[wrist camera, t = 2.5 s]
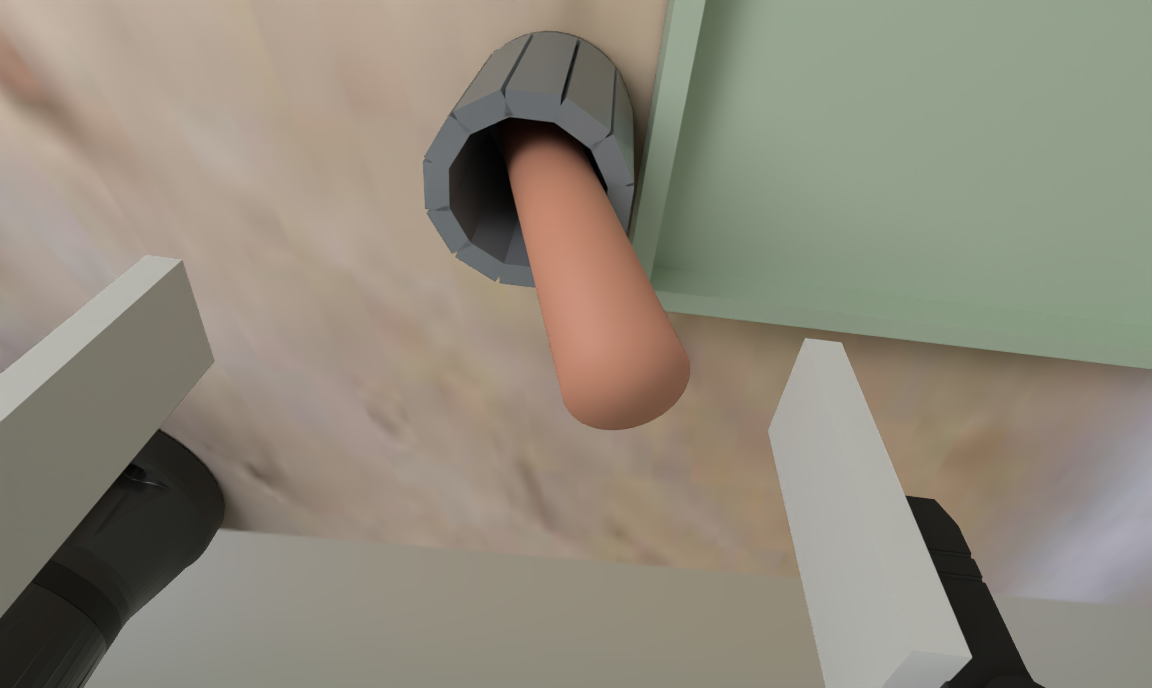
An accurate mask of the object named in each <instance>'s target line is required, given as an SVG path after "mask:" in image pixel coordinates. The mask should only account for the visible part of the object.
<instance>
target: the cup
mask: <svg viewBox="0 0 1152 688" xmlns="http://www.w3.org/2000/svg"><path fill="white" fill-rule="evenodd" d="M508 117H514V118H523V119H531V120H539V121H547V122H555V123H556V124H557V125H559V126H560V127H561V128H563V129H564V130H565V131H567V132H568V133H570V134H571V135H572V136H574V137H575V138H576V139H578V140H579V141H580V143H581V145H582V147H583V149H584V151H585V153H586V155H587V157H588V159H589V161H590V163H591V165H592V167H593V169H594V171H595V173H596V175H597V177H598V179H599V181H600V183H601V185H602V187H603V189H604V191H605V193H606V195H607V197H608V199H609V201H610V203H611V205H612V207H613V209H614V211H615V213H616V215H617V217H618V219H619V221H620V223H621V225H622V227H623V229H624V231H625V233H627V228H628V222H629V216H630V210H631V204H632V198H633V192H634V140H633V108H632V105H631V103H630V100H629V95H628V92H627V89H626V85H625V83H624V81H623V79H622V77H621V74H620V73H619V71H618V69H617V68H616V67H615V65H614V64H613V63H612V61H611V60H610V59H609V58H608V57H607V56H606V55H605V54H604V53H603V52H602V51H601V50H600V49H598V48H597V47H596V46H594V45H593V44H591V43H590V42H588V41H586V40H584V39H582V38H580V37H577V36H574V35H571V34H568V33H563V32H558V31H541V32H534V33H529V34H525V35H523V36H520V37H518V38H515V39H514V40H512V41H510V42H508V43H507V44H505V45H504V46H503V47H501V48H500V49H498V50H496V51H494V53H493V54H491V55H490V57H489V58H488V60H487V61H486V63H485V64H484V65H483V67H482V68H481V70H480V71H479V73H478V74H477V75H476V77H475V78H474V80H473V81H472V83H471V84H470V85H469V87H468V88H467V90H466V91H465V93H464V94H463V95H462V97H461V98H460V100H459V101H458V103H457V104H456V105H455V107H454V108H453V110H452V111H451V113H450V114H449V116H448V117H447V119H446V121H445V122H444V124H443V126H442V127H441V129H440V131H439V132H438V134H437V136H436V138H435V139H434V141H433V143H432V144H431V146H430V148H429V149H428V151H427V153H426V154H425V156H424V157H425V159H424V161H423V174H424V195H425V209H429V210H428V212H427V215H428V216H429V218H430V220H431V221H432V223H433V224H434V226H435V228H436V229H437V231H438V232H439V234H440V236H441V237H442V239H443V240H444V242H445V243H446V245H447V247H448V248H449V250H450V251H451V253H455V252H457V251H458V252H457V254H456V256H455V257H456V258H458V259H459V260H461V261H463V262H464V263H466V264H467V265H469V266H471V267H472V268H474V269H476V270H477V271H479V272H480V273H482V274H484V275H485V276H487V277H488V278H490V279H492V280H493V281H496V280H497V279H498V277H499V276H500V283H502V284H510V285H519V286H527V287H535V282H534V278H533V274H532V270H531V266H530V262H529V258H528V254H527V250H526V246H525V241H524V237H523V233H522V229H521V225H520V221H519V217H518V213H517V209H516V205H515V200H514V196H513V192H512V188H511V184H510V180H509V176H508V172H507V168H506V164H505V159H504V155H503V151H502V147H501V143H500V139H499V135H498V131H497V122H499V121H501V120H503V119H506V118H508ZM535 288H536V287H535Z"/></svg>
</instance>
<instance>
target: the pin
mask: <svg viewBox="0 0 1152 688" xmlns="http://www.w3.org/2000/svg"><path fill="white" fill-rule="evenodd" d="M497 131H498V135H499V139H500V143H501V147H502V151H503V155H504V159H505V164H506V168H507V172H508V176H509V180H510V184H511V188H512V192H513V196H514V200H515V205H516V209H517V213H518V217H519V221H520V225H521V229H522V233H523V237H524V241H525V246H526V250H527V254H528V258H529V262H530V266H531V270H532V274H533V278H534V282H535V287H536V291H537V295H538V299H539V303H540V307H541V311H542V315H543V319H544V323H545V327H546V332H547V336H548V340H549V344H550V348H551V352H552V356H553V360H554V364H555V368H556V373H557V377H558V381H559V385H560V389H561V393H562V397H563V401H564V404H565V406H566V408H567V409H568V411H569V412H570V413H571V415H572V416H573V417H575V418H576V419H577V420H578V421H580V422H582V423H583V424H586V425H588V426H591V427H594V428H598V429H604V430H621V429H628V428H633V427H636V426H640V425H643V424H645V423H648V422H650V421H652V420H654V419H656V418H657V417H659V416H661V415H662V414H664V413H665V412H666V411H667V410H669V409H670V408H671V407H672V406H673V405H674V404H675V403H676V402H677V401H678V399H679V398H680V397H681V395H682V394H683V392H684V390H685V388H686V386H687V383H688V380H689V375H690V366H689V360H688V358H687V355H686V353H685V351H684V349H683V347H682V345H681V343H680V341H679V339H678V337H677V335H676V333H675V331H674V329H673V327H672V325H671V323H670V321H669V319H668V317H667V315H666V313H665V311H664V309H663V307H662V305H661V303H660V301H659V299H658V297H657V295H656V293H655V291H654V289H653V287H652V285H651V283H650V281H649V279H648V277H647V275H646V273H645V271H644V269H643V267H642V265H641V263H640V261H639V259H638V257H637V255H636V253H635V251H634V249H633V247H632V245H631V243H630V241H629V239H628V237H627V235H626V233H625V231H624V229H623V227H622V225H621V223H620V221H619V219H618V217H617V215H616V213H615V211H614V209H613V207H612V205H611V203H610V201H609V199H608V197H607V195H606V193H605V191H604V189H603V187H602V185H601V183H600V181H599V179H598V177H597V175H596V173H595V171H594V169H593V167H592V165H591V163H590V161H589V159H588V157H587V155H586V153H585V151H584V149H583V147H582V145H581V143H580V141H579V140H578V139H576V138H575V137H574V136H572V135H571V134H570V133H568V132H567V131H565V130H564V129H563V128H561V127H560V126H559V125H557V124H556V123H555V122H547V121H539V120H531V119H523V118H514V117H508V118H506V119H503V120H501V121H499V122H497Z"/></svg>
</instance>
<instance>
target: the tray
mask: <svg viewBox="0 0 1152 688" xmlns="http://www.w3.org/2000/svg"><path fill="white" fill-rule="evenodd" d="M628 239H629V241H630V243H631V245H632V247H633V249H634V251H635V253H636V255H637V257H638V259H639V261H640V263H641V265H642V267H643V269H644V271H645V273H646V275H647V277H648V279H649V281H650V283H651V285H652V287H653V289H654V291H655V293H656V295H657V297H658V299H659V301H660V303H661V305H662V307H663V309H664V311H669V312H677V313H686V314H694V315H703V316H711V317H719V318H728V319H736V320H744V321H753V322H761V323H769V324H778V325H786V326H794V327H803V328H811V329H819V330H828V331H836V332H844V333H853V334H861V335H870V336H878V337H886V338H895V339H903V340H911V341H920V342H928V343H936V344H945V345H953V346H961V347H970V348H978V349H986V350H995V351H1003V352H1012V353H1020V354H1028V355H1037V356H1045V357H1053V358H1062V359H1070V360H1078V361H1087V362H1095V363H1103V364H1112V365H1120V366H1128V367H1137V368H1145V369H1152V0H668V4H667V10H666V16H665V22H664V28H663V34H662V40H661V46H660V52H659V58H658V64H657V70H656V76H655V82H654V88H653V94H652V100H651V106H650V112H649V118H648V124H647V130H646V136H645V142H644V148H643V154H642V160H641V166H640V172H639V178H638V184H637V190H636V196H635V202H634V208H633V214H632V220H631V226H630V232H629V238H628Z"/></svg>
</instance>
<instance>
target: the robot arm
mask: <svg viewBox="0 0 1152 688" xmlns="http://www.w3.org/2000/svg"><path fill="white" fill-rule="evenodd" d="M213 362H214V358H213V355H212V352H211V348H210V345H209V342H208V339H207V336H206V333H205V330H204V327H203V323H202V320H201V317H200V314H199V311H198V308H197V305H196V301H195V298H194V295H193V292H192V289H191V286H190V283H189V279H188V276H187V273H186V270H185V267H184V264H183V261H182V260H180V259H173V258H165V257H157V256H149V255H145V256H144V257H143V258H142V259H141V260H139V261H138V262H137V263H136V264H134V265H133V266H132V267H131V268H130V269H128V270H127V271H126V272H125V273H123V274H122V275H121V276H120V277H119V278H117V279H116V280H115V281H114V282H112V283H111V284H110V285H109V286H108V287H106V288H105V289H104V290H103V291H101V292H100V293H99V294H98V295H96V296H95V297H94V298H93V299H92V300H90V301H89V302H88V303H87V304H85V305H84V306H83V307H82V308H81V309H79V310H78V311H77V312H76V313H74V314H73V315H72V316H71V317H70V318H68V319H67V320H66V321H65V322H63V323H62V324H61V325H60V326H59V327H57V328H56V329H55V330H54V331H52V332H51V333H50V334H49V335H47V336H46V337H45V338H44V339H43V340H41V341H40V342H39V343H38V344H36V345H35V346H34V347H33V348H32V349H30V350H29V351H28V352H27V353H25V354H24V355H23V356H22V357H21V358H19V359H18V360H17V361H16V362H14V363H13V364H12V365H11V366H10V367H8V368H7V369H6V370H5V371H3V372H2V373H1V374H0V688H83V687H84V686H85V684H86V683H87V681H88V680H89V678H90V676H91V675H92V673H93V672H94V670H95V669H96V667H97V666H98V664H99V662H100V661H101V659H102V658H103V656H104V655H105V653H106V652H107V650H108V649H109V647H110V646H111V644H112V643H113V641H114V640H115V638H116V636H117V635H118V633H119V632H120V630H121V629H122V627H123V626H124V625H125V623H126V622H127V621H128V620H129V619H130V618H131V617H132V616H133V615H134V614H135V613H136V612H138V611H139V610H140V609H141V608H142V607H143V606H144V605H145V604H146V603H148V602H149V601H150V600H151V599H152V598H153V597H155V596H156V595H157V594H158V593H159V592H160V591H161V590H162V589H163V588H165V587H166V586H167V585H168V584H169V583H170V582H171V581H172V580H173V579H174V578H176V577H177V576H178V575H179V574H180V573H181V572H182V571H183V570H184V569H185V568H186V567H188V566H189V565H191V564H192V563H194V562H195V561H196V560H197V559H198V558H199V557H200V556H201V555H202V554H203V552H204V551H205V550H206V548H207V547H208V545H209V543H210V542H211V540H212V539H213V537H214V535H215V534H216V532H217V530H218V529H219V527H220V525H221V523H222V521H223V517H224V503H223V499H222V496H221V493H220V491H219V488H218V486H217V485H216V483H215V481H214V480H213V478H212V477H211V475H210V474H209V473H208V471H207V470H206V469H205V468H204V467H203V466H202V464H201V463H200V462H199V461H198V460H197V459H196V458H195V457H193V456H192V455H191V454H190V453H189V452H188V451H187V450H185V449H184V448H183V447H182V446H180V445H179V444H178V443H176V442H175V441H173V440H172V439H171V438H169V437H167V436H166V435H164V434H163V433H161V432H159V431H158V428H159V427H160V426H161V425H162V424H163V422H164V421H165V420H166V419H167V418H168V416H169V415H170V414H171V413H172V412H173V410H174V409H175V408H176V407H177V406H178V404H179V403H180V402H181V401H182V400H183V398H184V397H185V396H186V395H187V394H188V392H189V391H190V390H191V389H192V388H193V386H194V385H195V384H196V383H197V382H198V380H199V379H200V378H201V377H202V376H203V374H204V373H205V372H206V371H207V370H208V368H209V367H210V366H211V365H212V364H213ZM768 433H769V437H770V442H771V446H772V451H773V455H774V460H775V464H776V469H777V473H778V477H779V482H780V486H781V491H782V495H783V500H784V504H785V509H786V513H787V517H788V522H789V526H790V531H791V535H792V540H793V544H794V549H795V553H796V557H797V562H798V566H799V571H800V575H801V580H802V584H803V589H804V593H805V597H806V602H807V606H808V611H809V615H810V620H811V624H812V629H813V633H814V637H815V642H816V646H817V651H818V655H819V660H820V664H821V669H822V673H823V677H824V682H825V686H826V688H1045V687H1043V686H1041V685H1039V684H1037V683H1036V682H1034V681H1033V679H1032V678H1031V676H1030V674H1029V673H1028V671H1027V669H1026V667H1025V665H1024V663H1023V661H1022V659H1021V657H1020V655H1019V652H1018V650H1017V648H1016V646H1015V644H1014V642H1013V640H1012V638H1011V636H1010V634H1009V631H1008V629H1007V627H1006V625H1005V623H1004V621H1003V619H1002V617H1001V615H1000V613H999V610H998V608H997V606H996V604H995V602H994V600H993V598H992V596H991V594H990V591H989V589H988V587H987V585H986V583H983V582H982V575H981V573H980V570H979V568H978V566H977V564H976V562H975V560H974V559H971V552H970V549H969V547H968V545H967V543H966V541H965V539H964V537H963V535H962V533H961V531H960V528H959V526H958V525H957V524H956V523H955V521H954V520H953V519H952V518H951V517H950V516H949V515H948V514H947V513H946V511H945V510H944V509H943V508H942V507H941V506H940V505H939V504H938V503H937V501H936V500H935V499H928V498H920V497H912V496H905V494H904V492H903V489H902V487H901V485H900V482H899V480H898V477H897V475H896V473H895V470H894V468H893V465H892V463H891V461H890V458H889V456H888V453H887V451H886V449H885V446H884V444H883V441H882V439H881V437H880V434H879V432H878V429H877V427H876V425H875V422H874V420H873V417H872V415H871V413H870V410H869V408H868V405H867V403H866V400H865V398H864V396H863V393H862V391H861V388H860V386H859V384H858V381H857V379H856V376H855V374H854V372H853V369H852V367H851V364H850V362H849V360H848V357H847V355H846V352H845V350H844V348H843V345H842V343H841V342H833V341H825V340H817V339H810V338H805V339H804V342H803V344H802V347H801V349H800V352H799V354H798V357H797V359H796V362H795V364H794V367H793V369H792V372H791V374H790V377H789V379H788V382H787V384H786V387H785V389H784V392H783V394H782V397H781V399H780V402H779V404H778V407H777V409H776V412H775V414H774V417H773V419H772V422H771V424H770V427H769V429H768Z"/></svg>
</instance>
